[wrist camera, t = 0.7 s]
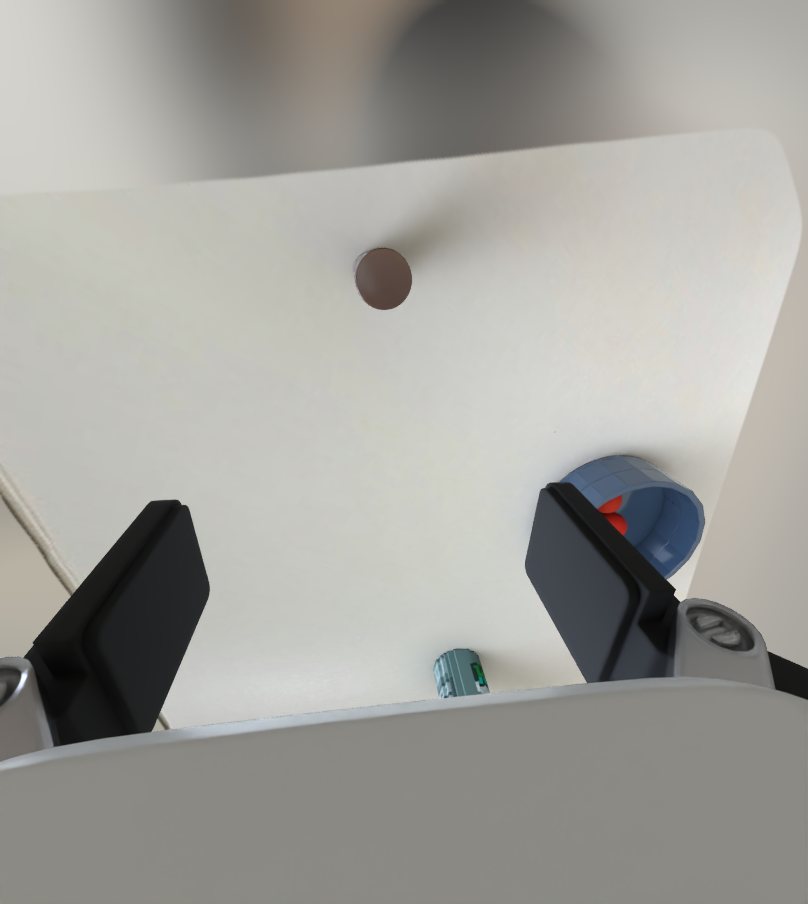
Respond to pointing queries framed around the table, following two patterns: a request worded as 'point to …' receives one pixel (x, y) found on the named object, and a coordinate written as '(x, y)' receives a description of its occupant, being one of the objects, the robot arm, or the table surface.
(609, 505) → the tomato
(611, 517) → the tomato
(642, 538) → the bowl
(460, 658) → the can
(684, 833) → the robot arm
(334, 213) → the table surface
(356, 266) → the stick
